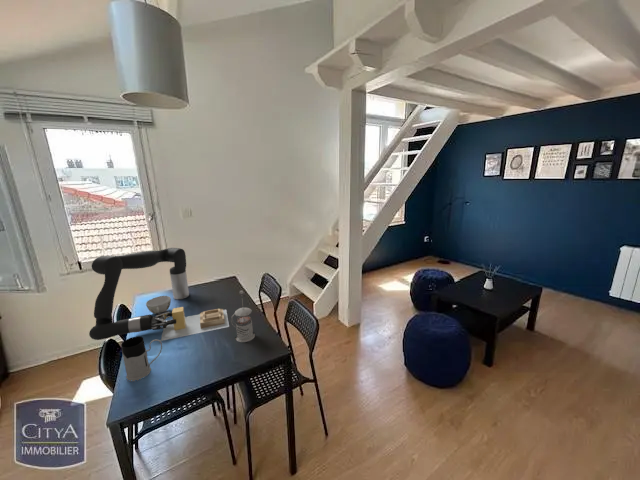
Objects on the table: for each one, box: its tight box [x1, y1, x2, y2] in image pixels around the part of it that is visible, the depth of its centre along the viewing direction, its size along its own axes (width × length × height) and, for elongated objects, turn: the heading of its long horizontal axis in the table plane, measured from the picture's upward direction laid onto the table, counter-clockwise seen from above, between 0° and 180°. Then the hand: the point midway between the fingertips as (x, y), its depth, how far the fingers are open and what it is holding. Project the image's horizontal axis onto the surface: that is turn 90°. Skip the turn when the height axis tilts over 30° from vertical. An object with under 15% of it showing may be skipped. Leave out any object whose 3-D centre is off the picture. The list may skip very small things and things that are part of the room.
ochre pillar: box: [171, 306, 186, 330], centre depth 145 cm, size 5×5×10 cm
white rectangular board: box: [160, 309, 230, 342], centre depth 149 cm, size 20×32×1 cm, turn 113°
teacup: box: [145, 295, 172, 315], centre depth 160 cm, size 15×12×8 cm
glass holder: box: [120, 336, 163, 382], centre depth 113 cm, size 9×14×15 cm, turn 114°
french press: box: [230, 290, 256, 343], centre depth 136 cm, size 10×12×25 cm
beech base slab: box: [199, 308, 225, 328], centre depth 151 cm, size 12×12×4 cm
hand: (176, 317), depth 144 cm, fingers open, 8 cm apart
